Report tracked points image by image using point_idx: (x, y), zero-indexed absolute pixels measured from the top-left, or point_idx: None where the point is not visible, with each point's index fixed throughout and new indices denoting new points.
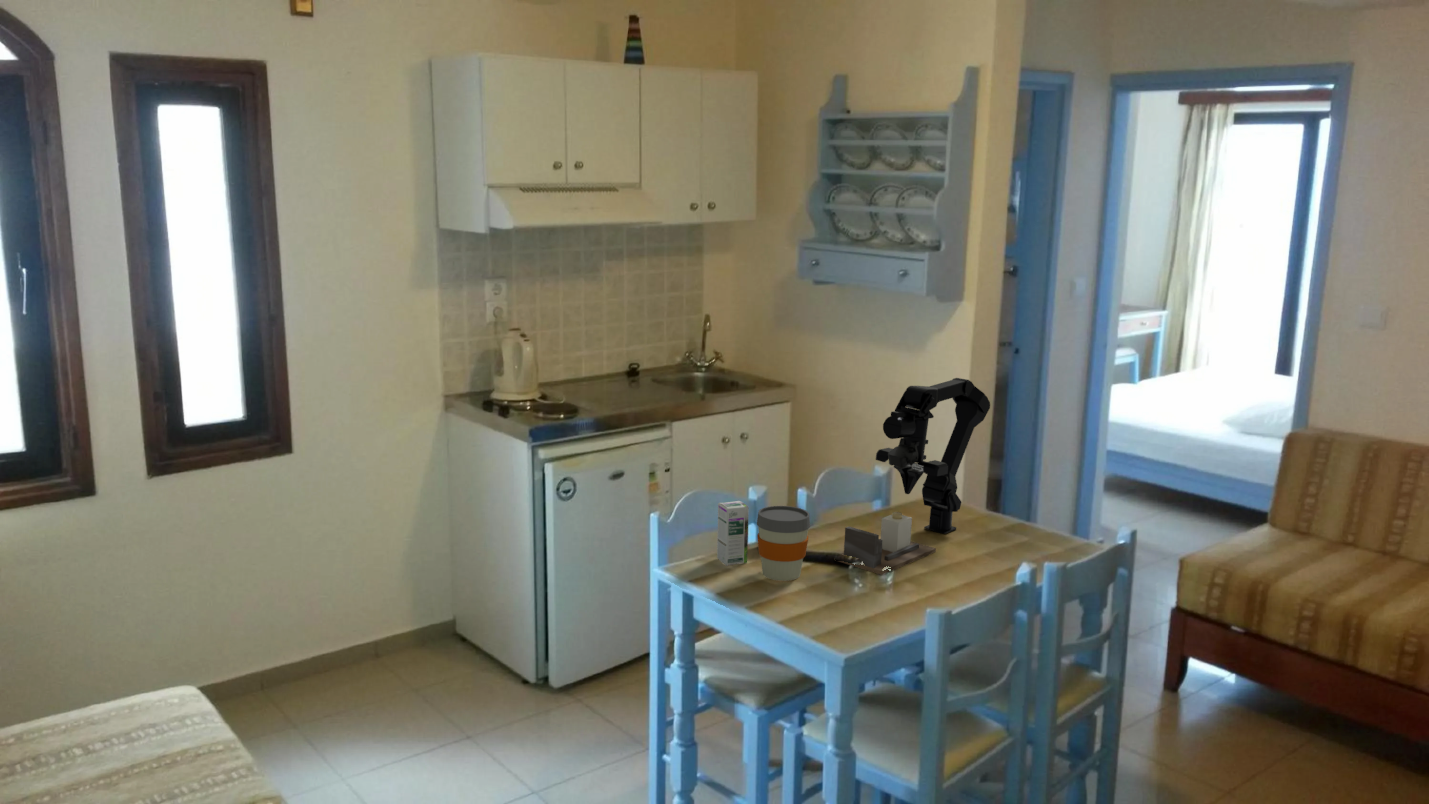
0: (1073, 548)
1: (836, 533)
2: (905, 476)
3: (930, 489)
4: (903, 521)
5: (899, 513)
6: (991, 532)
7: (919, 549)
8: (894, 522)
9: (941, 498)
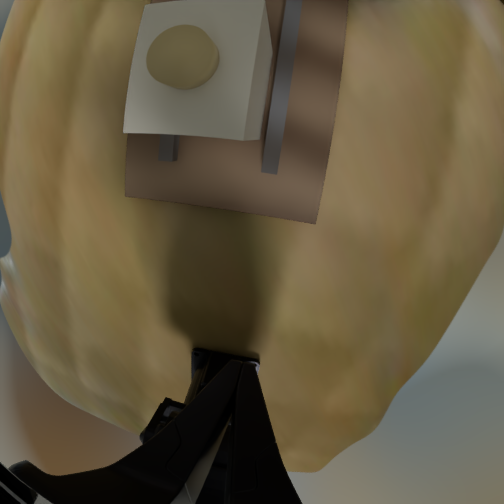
0: (32, 362)
1: (470, 171)
2: (229, 482)
3: (216, 459)
4: (136, 46)
5: (164, 62)
6: (136, 393)
7: (155, 145)
8: (173, 2)
9: (165, 424)
